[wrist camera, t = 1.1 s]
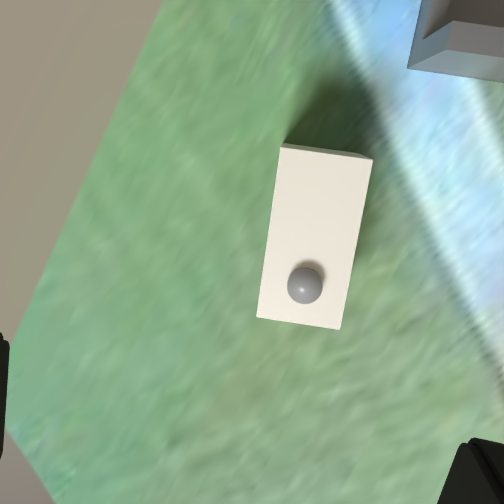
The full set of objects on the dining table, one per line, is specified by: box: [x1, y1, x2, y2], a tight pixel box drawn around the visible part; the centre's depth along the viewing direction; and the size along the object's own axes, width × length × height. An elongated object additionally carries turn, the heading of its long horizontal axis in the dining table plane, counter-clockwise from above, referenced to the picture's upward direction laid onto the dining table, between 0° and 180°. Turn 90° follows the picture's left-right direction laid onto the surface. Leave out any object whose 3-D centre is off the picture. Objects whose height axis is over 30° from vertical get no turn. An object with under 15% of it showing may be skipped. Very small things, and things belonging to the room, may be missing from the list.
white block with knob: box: [256, 143, 373, 330], centre depth 24 cm, size 4×8×6 cm, turn 173°
